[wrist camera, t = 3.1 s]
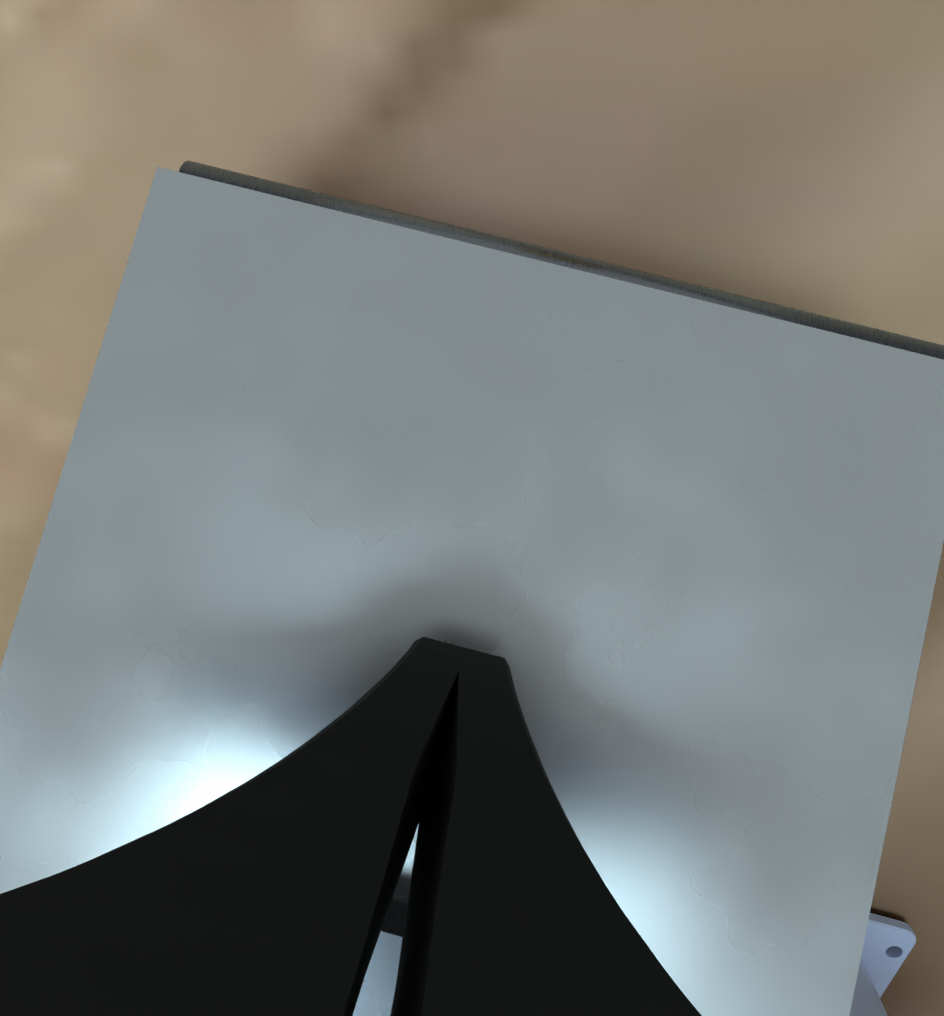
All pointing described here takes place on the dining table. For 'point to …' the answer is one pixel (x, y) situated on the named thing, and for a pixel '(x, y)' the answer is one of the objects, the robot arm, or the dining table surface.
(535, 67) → the dining table surface
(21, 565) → the dining table surface
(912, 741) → the dining table surface
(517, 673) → the steel lid
